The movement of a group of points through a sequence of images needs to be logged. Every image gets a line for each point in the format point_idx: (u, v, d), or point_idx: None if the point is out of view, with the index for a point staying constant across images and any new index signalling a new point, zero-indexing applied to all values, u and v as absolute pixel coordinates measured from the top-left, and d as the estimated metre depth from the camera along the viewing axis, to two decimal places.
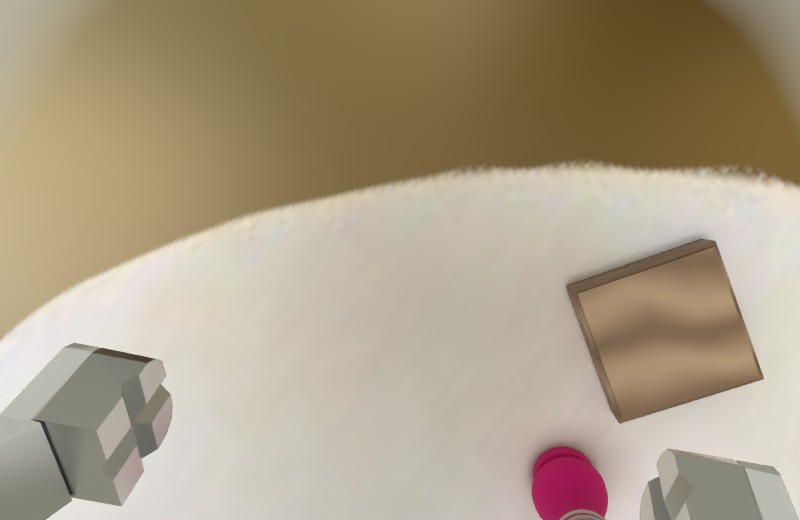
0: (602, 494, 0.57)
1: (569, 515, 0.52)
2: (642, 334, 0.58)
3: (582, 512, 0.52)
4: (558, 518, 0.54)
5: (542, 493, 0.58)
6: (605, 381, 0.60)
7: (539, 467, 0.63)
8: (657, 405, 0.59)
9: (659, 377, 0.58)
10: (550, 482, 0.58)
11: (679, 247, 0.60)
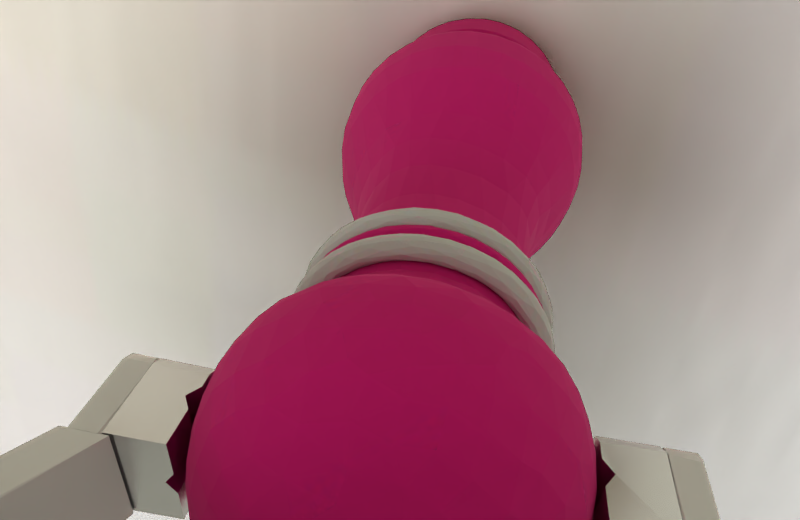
0: (531, 113, 0.15)
1: (318, 262, 0.11)
2: None
3: (357, 231, 0.11)
4: None
5: (345, 190, 0.17)
6: None
7: None
8: None
9: None
10: (350, 148, 0.17)
11: None
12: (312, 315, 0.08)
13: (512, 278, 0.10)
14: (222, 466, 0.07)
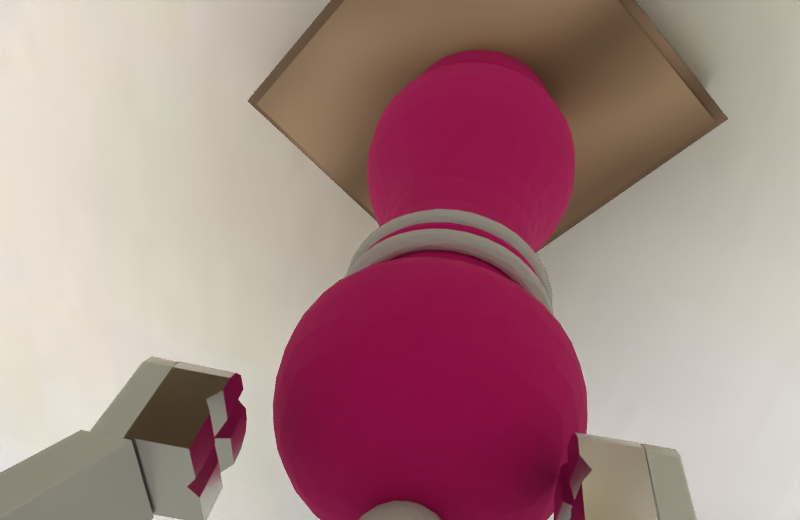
0: (530, 130, 0.18)
1: (360, 255, 0.14)
2: None
3: (393, 229, 0.14)
4: None
5: (372, 201, 0.20)
6: None
7: None
8: None
9: None
10: (376, 164, 0.19)
11: None
12: (369, 286, 0.10)
13: (518, 261, 0.13)
14: (310, 395, 0.10)
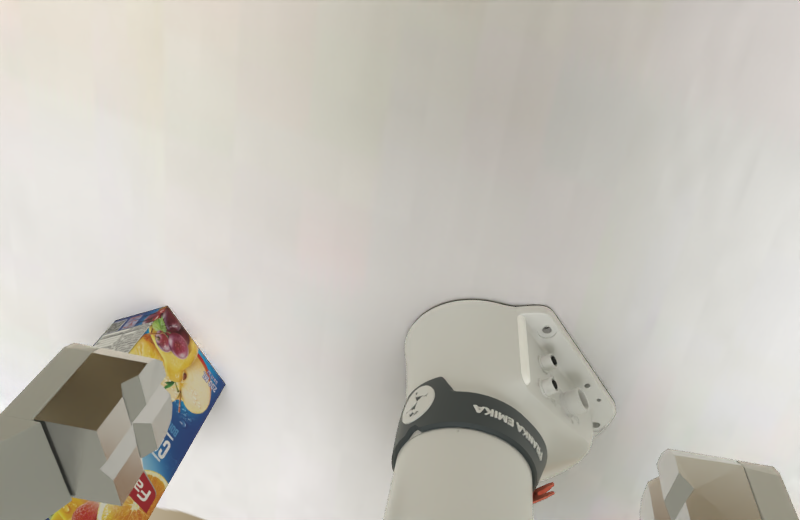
0: None
1: None
2: None
3: None
4: None
5: None
6: None
7: None
8: None
9: None
10: None
11: None
12: None
13: None
14: None
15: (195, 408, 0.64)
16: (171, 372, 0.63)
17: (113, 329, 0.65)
